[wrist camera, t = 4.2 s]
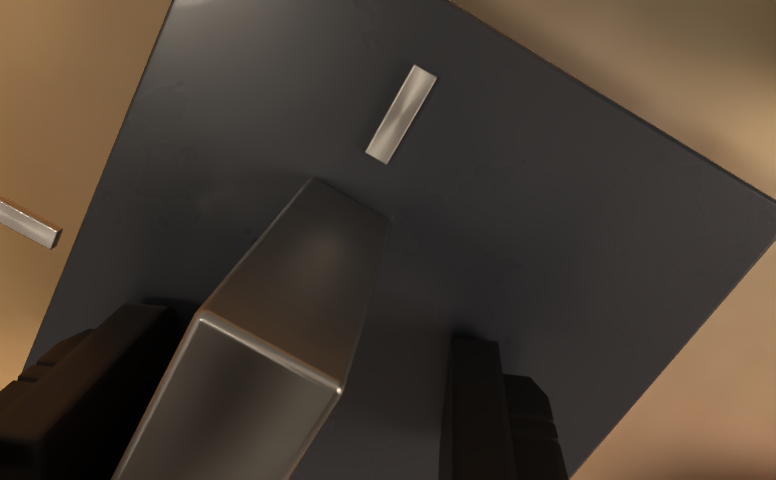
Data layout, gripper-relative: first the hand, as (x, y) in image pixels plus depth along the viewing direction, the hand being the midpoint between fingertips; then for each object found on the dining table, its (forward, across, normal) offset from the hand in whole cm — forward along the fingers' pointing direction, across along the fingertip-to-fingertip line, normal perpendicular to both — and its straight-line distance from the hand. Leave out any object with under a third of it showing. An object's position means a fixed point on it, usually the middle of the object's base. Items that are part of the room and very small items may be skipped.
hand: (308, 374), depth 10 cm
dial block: (+3, -1, -1) cm, 3 cm away
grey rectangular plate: (0, +1, 0) cm, 1 cm away
